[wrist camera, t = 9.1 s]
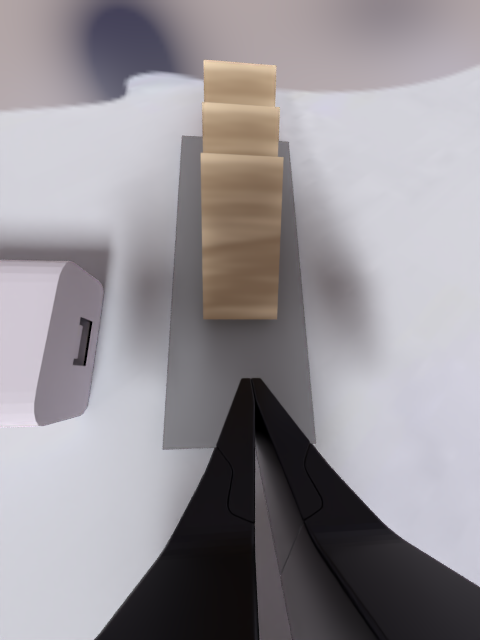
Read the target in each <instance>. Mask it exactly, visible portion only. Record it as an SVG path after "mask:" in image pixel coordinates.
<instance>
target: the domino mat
mask: <svg viewBox="0 0 480 640" xmlns="http://www.w3.org/2000/svg"><path fill="white" fill-rule="evenodd" d="M201 153H203V137H196V136H182V144H181V160H180V176H179V192H178V208H177V224H176V241H175V257H174V273H173V289H172V305H171V321H170V337H169V353H168V369H167V385H166V402H165V418H164V434H163V450H167V449H192V448H215V447H216V443H217V441H218V438H219V435H220V433H221V430H222V427H223V425H224V422H225V419H226V417H227V414H228V412H229V409H230V406H231V404H232V401H233V398H234V396H235V393H236V390H237V388H238V385H239V383H240V380H241V378H250V379H251V378H261V379H262V380H263V381H264V383H265V384H266V385H267V387H268V388H269V389H270V390H271V392H272V393H273V394H274V396H275V397H276V398H277V399H278V401H279V402H280V403H281V405H282V406H283V407H284V408H285V410H286V411H287V412H288V413H289V415H290V416H291V417H292V419H293V420H294V421H295V422H296V424H297V425H298V426H299V428H300V429H301V430H302V431H303V433H304V434H305V435H306V437H307V438H308V439H309V440H310V443H312V444H316V438H315V427H314V416H313V405H312V394H311V383H310V372H309V361H308V350H307V339H306V328H305V317H304V306H303V295H302V284H301V273H300V262H299V251H298V240H297V229H296V218H295V207H294V196H293V185H292V174H291V163H290V153H289V142H282V141H278V157H284V161H283V185H282V210H281V235H280V259H279V284H278V309H277V319H203V272H202V209H201Z"/></svg>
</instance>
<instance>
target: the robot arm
mask: <svg viewBox="0 0 480 640" xmlns="http://www.w3.org/2000/svg"><path fill="white" fill-rule="evenodd" d="M255 448H256V453H257V458H258V463H259V468H260V474H261V479H262V484H263V489H264V495H265V500H266V505H267V510H268V515H269V521H270V526H271V531H272V536H273V541H274V547H275V552H276V557H277V562H278V567H279V573H280V575H281V577H280V578H281V583H282V588H283V594H284V599H285V604H286V609H287V614H288V620H289V625H290V630H291V635H292V640H480V587H479V586H477V585H476V584H474V583H473V582H471V581H469V580H468V579H466V578H465V577H463V576H461V575H460V574H458V573H456V572H455V571H453V570H452V569H450V568H448V567H447V566H445V565H444V564H442V563H440V562H439V561H437V560H436V559H434V558H432V557H431V556H429V555H428V554H426V553H424V552H423V551H421V550H419V549H418V548H416V547H415V546H413V545H411V544H410V543H408V542H407V541H405V540H404V539H402V538H401V537H400V536H398V535H397V534H396V533H394V532H393V531H392V530H391V529H390V528H388V527H387V526H386V525H385V524H384V523H383V522H382V521H381V520H380V519H379V518H378V517H377V516H376V515H375V514H374V513H373V512H372V511H371V510H370V508H369V507H368V506H367V505H366V504H365V503H364V502H363V501H362V500H361V499H360V498H359V497H358V496H357V495H356V494H355V492H354V491H353V490H352V489H351V488H350V487H349V486H348V485H347V484H346V483H345V482H344V481H343V480H342V479H341V477H340V476H339V475H338V474H337V473H336V472H335V471H334V470H333V469H332V468H331V466H330V465H329V464H328V463H327V462H326V460H325V459H324V458H323V457H322V456H321V454H320V453H319V452H318V451H317V449H316V448H315V447H314V445H313V444H312V443H310V440H309V439H308V438H307V437H306V435H305V434H304V433H303V431H302V430H301V429H300V428H299V426H298V425H297V424H296V422H295V421H294V420H293V419H292V417H291V416H290V415H289V413H288V412H287V411H286V410H285V408H284V407H283V406H282V405H281V403H280V402H279V401H278V399H277V398H276V397H275V396H274V394H273V393H272V392H271V390H270V389H269V388H268V387H267V385H266V384H265V383H264V381H263V380H262V379H261V378H251V379H250V378H241V380H240V383H239V385H238V388H237V390H236V393H235V396H234V398H233V401H232V404H231V406H230V409H229V412H228V414H227V417H226V419H225V422H224V425H223V427H222V430H221V433H220V435H219V438H218V441H217V443H216V447H215V448H214V451H213V453H212V456H211V458H210V461H209V463H208V466H207V468H206V470H205V473H204V475H203V477H202V479H201V481H200V483H199V485H198V487H197V489H196V491H195V493H194V495H193V497H192V498H191V500H190V502H189V504H188V506H187V508H186V510H185V512H184V514H183V516H182V518H181V519H180V521H179V523H178V525H177V527H176V529H175V531H174V532H173V534H172V536H171V538H170V540H169V541H168V543H167V545H166V546H165V548H164V549H163V551H162V553H161V554H160V556H159V557H158V558H157V560H156V561H155V562H154V564H153V565H152V566H151V568H150V569H149V570H148V571H147V573H146V574H145V575H144V577H143V578H142V579H141V581H140V582H139V583H138V584H137V586H136V587H135V588H134V590H133V591H132V592H131V593H130V595H129V596H128V597H127V599H126V600H125V601H124V603H123V604H122V605H121V606H120V608H119V609H118V610H117V612H116V613H115V614H114V616H113V617H112V618H111V619H110V621H109V622H108V623H107V625H106V626H105V627H104V629H103V630H102V631H101V632H100V634H99V635H98V636H97V637H96V638H95V639H94V640H259V623H258V603H257V582H256V562H255Z"/></svg>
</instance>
